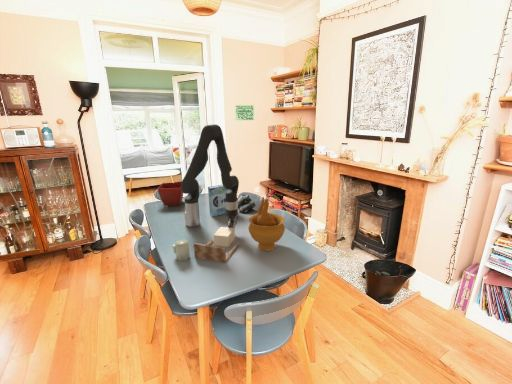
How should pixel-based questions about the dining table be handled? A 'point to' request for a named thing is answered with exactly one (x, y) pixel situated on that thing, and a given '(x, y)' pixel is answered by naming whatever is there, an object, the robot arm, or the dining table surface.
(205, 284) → the dining table surface
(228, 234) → the cream carton
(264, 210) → the mortar and pestle
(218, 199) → the gum box
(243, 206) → the dark grey rounded lump
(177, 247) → the sage mug
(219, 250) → the display bay
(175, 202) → the plant pot
